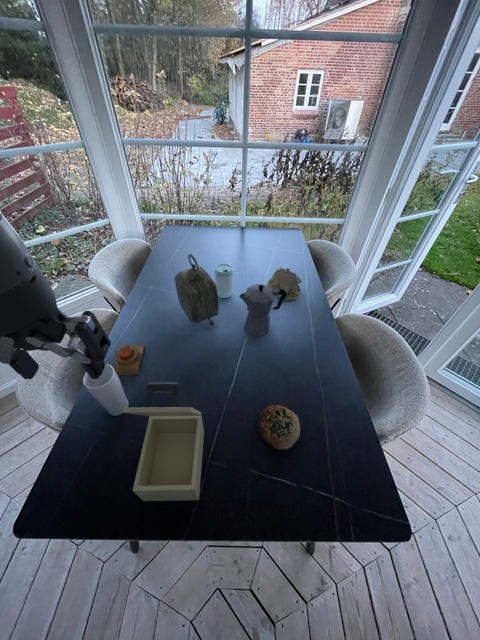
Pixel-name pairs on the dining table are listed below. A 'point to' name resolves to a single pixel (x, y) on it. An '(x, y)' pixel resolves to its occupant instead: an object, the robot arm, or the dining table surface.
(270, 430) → the bread roll
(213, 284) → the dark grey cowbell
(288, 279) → the ceramic model
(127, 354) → the button
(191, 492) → the beige open box
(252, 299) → the coffeepot
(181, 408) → the lid
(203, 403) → the dining table surface
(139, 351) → the block
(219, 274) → the can
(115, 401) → the drinking glass
